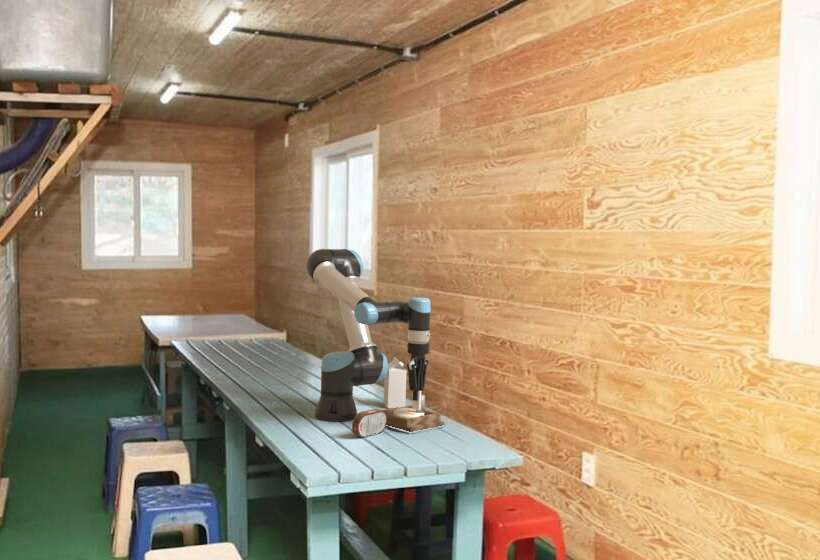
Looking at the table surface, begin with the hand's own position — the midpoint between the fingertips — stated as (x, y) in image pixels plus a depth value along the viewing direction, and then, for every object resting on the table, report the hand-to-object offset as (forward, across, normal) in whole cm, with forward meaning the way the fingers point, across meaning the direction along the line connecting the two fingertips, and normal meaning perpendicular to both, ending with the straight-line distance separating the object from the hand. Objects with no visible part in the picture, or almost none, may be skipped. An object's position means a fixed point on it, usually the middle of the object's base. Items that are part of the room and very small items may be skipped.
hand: (416, 409), depth 266 cm
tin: (+7, -17, +9) cm, 21 cm away
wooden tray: (+7, +2, +4) cm, 8 cm away
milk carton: (+7, +26, +21) cm, 34 cm away
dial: (+4, +2, +4) cm, 6 cm away
